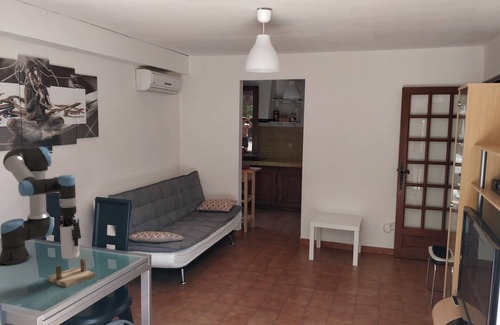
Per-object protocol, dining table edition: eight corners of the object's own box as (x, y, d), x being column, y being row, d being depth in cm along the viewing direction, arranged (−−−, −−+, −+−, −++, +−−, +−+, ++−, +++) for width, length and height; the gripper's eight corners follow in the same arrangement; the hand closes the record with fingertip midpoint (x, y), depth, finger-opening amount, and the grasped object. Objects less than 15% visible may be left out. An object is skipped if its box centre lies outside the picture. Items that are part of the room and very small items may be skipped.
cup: (68, 259, 200) (66, 227, 198) (58, 257, 204) (56, 225, 203) (82, 255, 207) (81, 224, 205) (72, 252, 211) (71, 222, 209)
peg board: (47, 280, 204) (46, 264, 204) (76, 270, 218) (75, 256, 217) (66, 287, 196) (65, 271, 195) (95, 276, 209) (94, 261, 208)
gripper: (48, 205, 206) (51, 249, 208) (73, 209, 194) (76, 256, 196) (62, 202, 212) (65, 245, 214) (87, 207, 200) (89, 252, 202)
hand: (70, 250), depth 205 cm, fingers closed on cup, 8 cm apart
